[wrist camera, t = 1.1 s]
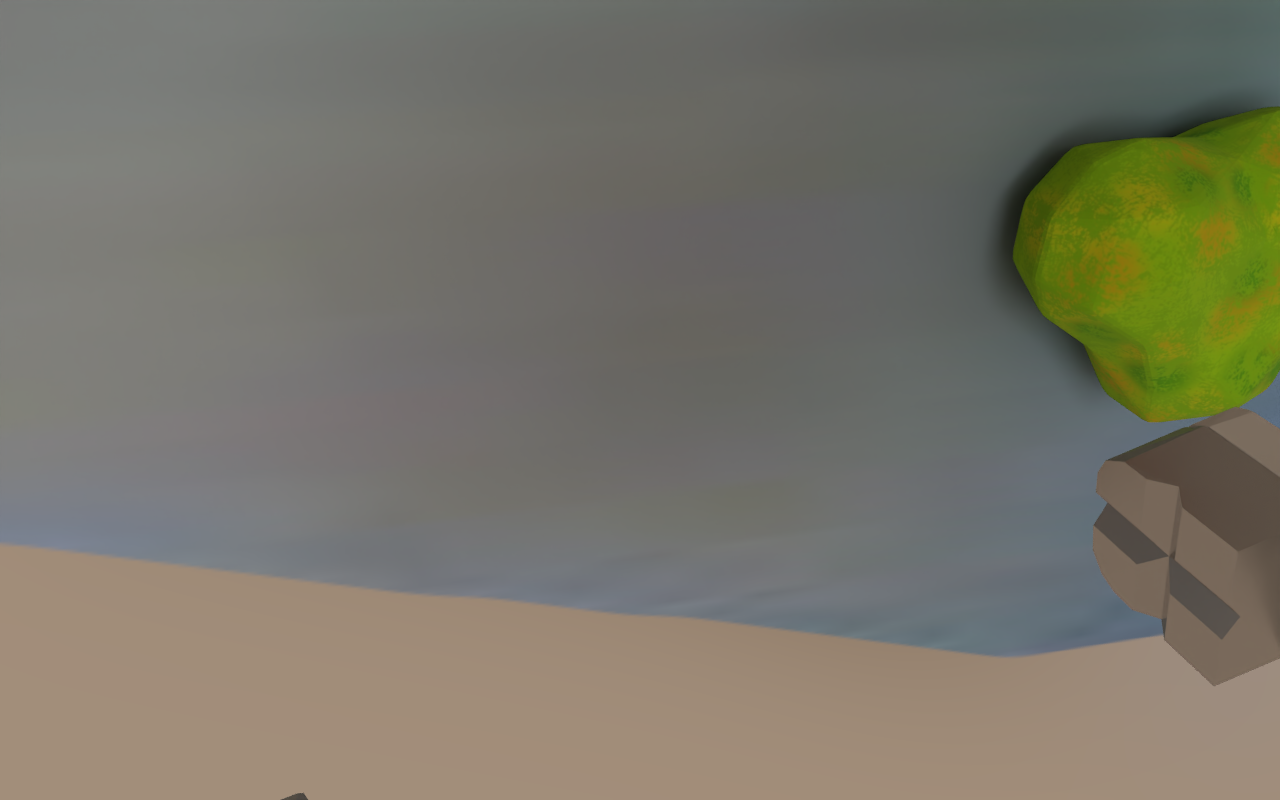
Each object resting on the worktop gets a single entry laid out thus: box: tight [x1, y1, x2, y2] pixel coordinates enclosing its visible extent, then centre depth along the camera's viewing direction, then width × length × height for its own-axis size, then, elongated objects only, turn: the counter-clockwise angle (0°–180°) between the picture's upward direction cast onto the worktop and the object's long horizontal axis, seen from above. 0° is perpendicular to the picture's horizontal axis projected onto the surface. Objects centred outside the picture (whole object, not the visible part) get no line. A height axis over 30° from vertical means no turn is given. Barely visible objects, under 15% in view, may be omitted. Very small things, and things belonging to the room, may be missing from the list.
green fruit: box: [1013, 107, 1280, 422], centre depth 60 cm, size 18×10×30 cm
